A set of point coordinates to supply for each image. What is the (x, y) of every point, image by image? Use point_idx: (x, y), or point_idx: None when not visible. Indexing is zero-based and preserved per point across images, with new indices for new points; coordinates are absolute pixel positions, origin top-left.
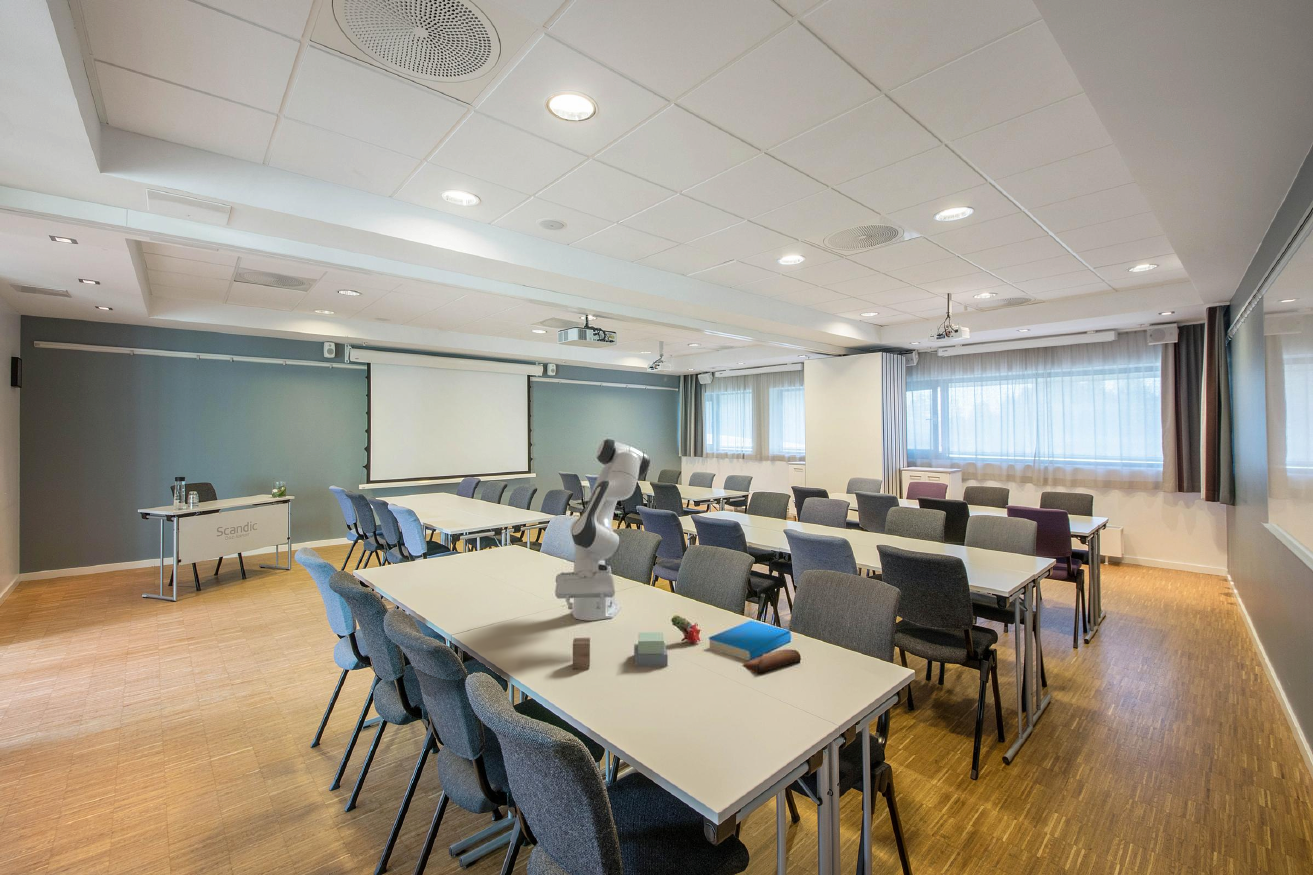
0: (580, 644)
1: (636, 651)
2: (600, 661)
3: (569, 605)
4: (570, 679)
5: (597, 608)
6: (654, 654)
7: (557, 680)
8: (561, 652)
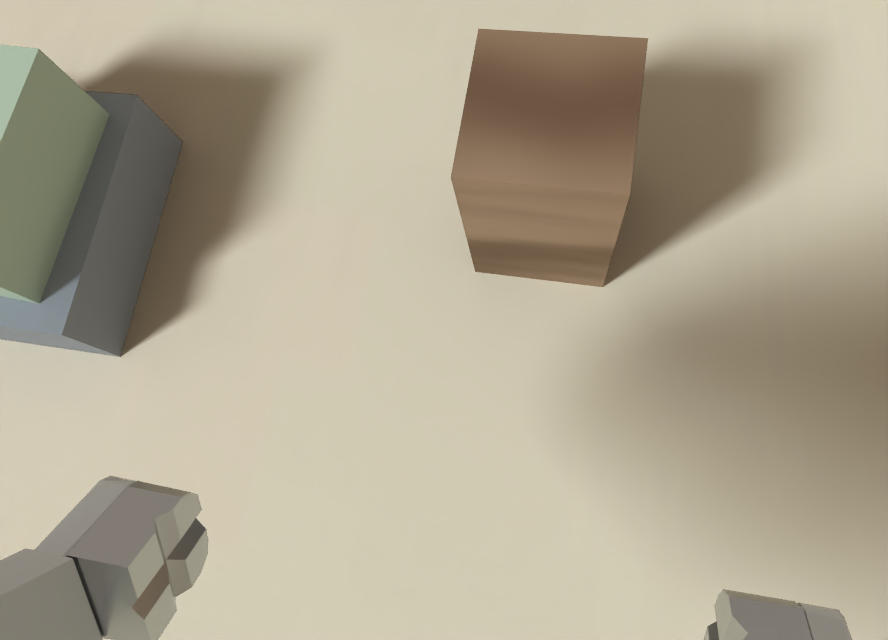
0: (564, 42)
1: (103, 168)
2: (392, 283)
3: (811, 631)
4: (635, 26)
5: (192, 528)
6: None
7: (726, 24)
8: (718, 570)
